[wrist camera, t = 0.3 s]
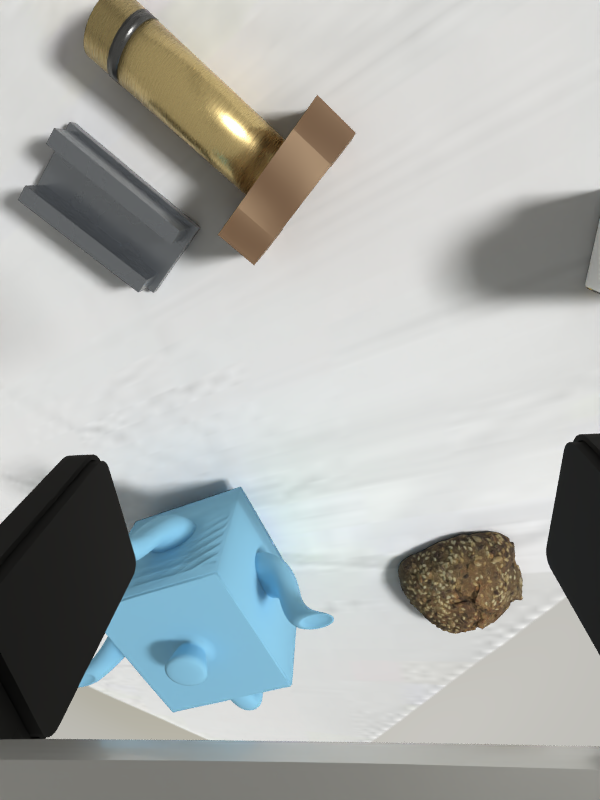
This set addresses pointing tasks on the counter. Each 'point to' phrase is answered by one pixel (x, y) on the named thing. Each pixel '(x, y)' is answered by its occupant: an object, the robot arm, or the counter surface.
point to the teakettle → (207, 607)
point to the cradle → (109, 210)
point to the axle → (180, 90)
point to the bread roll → (463, 581)
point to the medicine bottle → (594, 266)
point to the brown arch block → (287, 180)
